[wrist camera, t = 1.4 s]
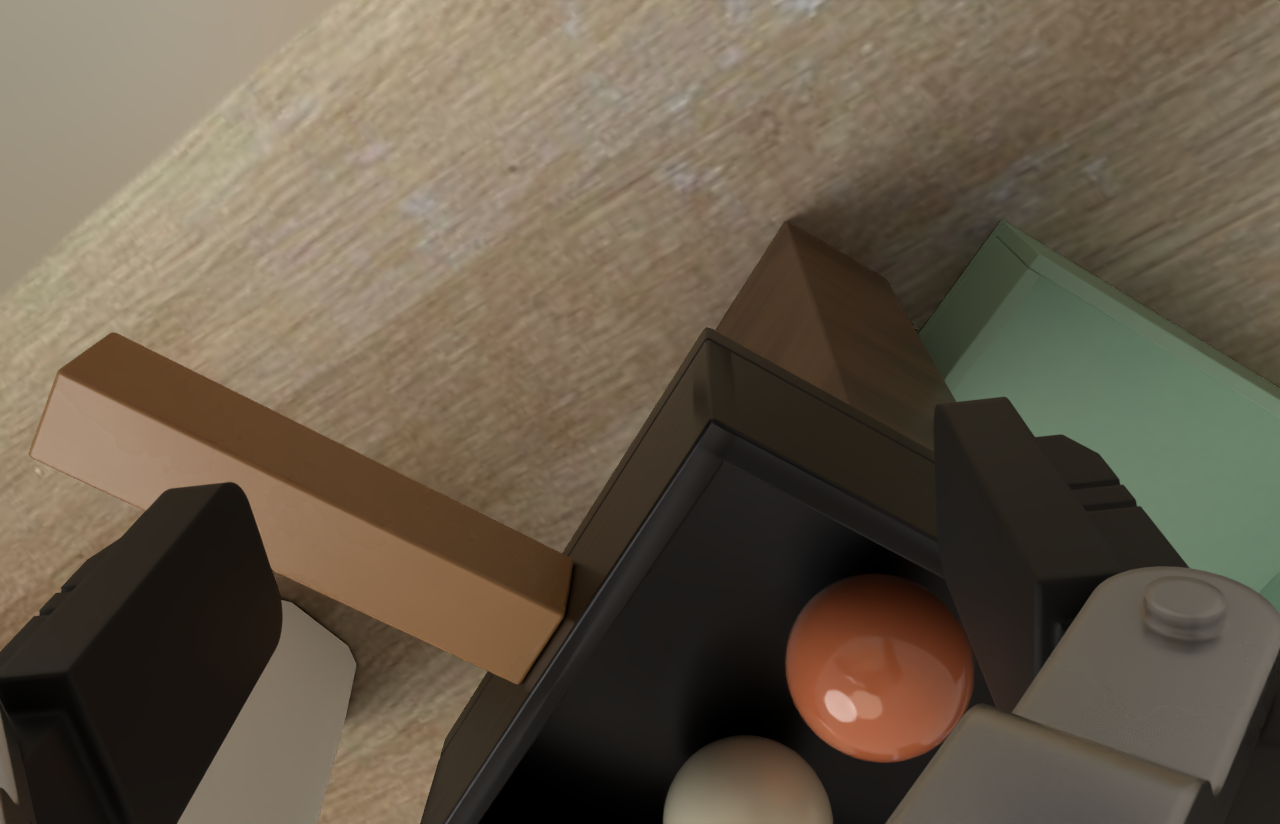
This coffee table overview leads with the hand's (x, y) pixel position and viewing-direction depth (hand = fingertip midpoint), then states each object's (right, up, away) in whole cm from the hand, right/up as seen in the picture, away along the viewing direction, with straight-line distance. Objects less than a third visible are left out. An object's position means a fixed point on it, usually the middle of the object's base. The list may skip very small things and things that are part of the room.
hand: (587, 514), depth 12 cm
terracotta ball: (+4, -3, +5) cm, 7 cm away
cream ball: (+3, -6, +6) cm, 9 cm away
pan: (0, -2, +7) cm, 7 cm away
